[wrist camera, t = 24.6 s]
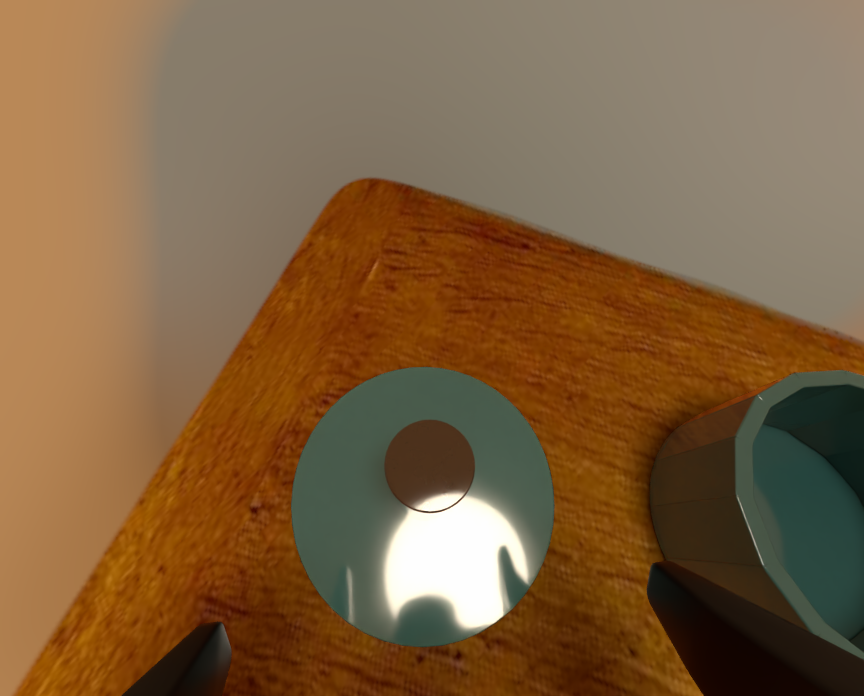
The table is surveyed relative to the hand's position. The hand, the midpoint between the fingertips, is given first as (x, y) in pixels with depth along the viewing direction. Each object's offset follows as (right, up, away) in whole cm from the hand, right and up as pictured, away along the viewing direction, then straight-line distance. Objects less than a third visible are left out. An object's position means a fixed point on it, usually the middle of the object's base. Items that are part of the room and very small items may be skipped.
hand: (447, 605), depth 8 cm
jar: (+15, -2, +9) cm, 17 cm away
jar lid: (-1, -1, +9) cm, 9 cm away
